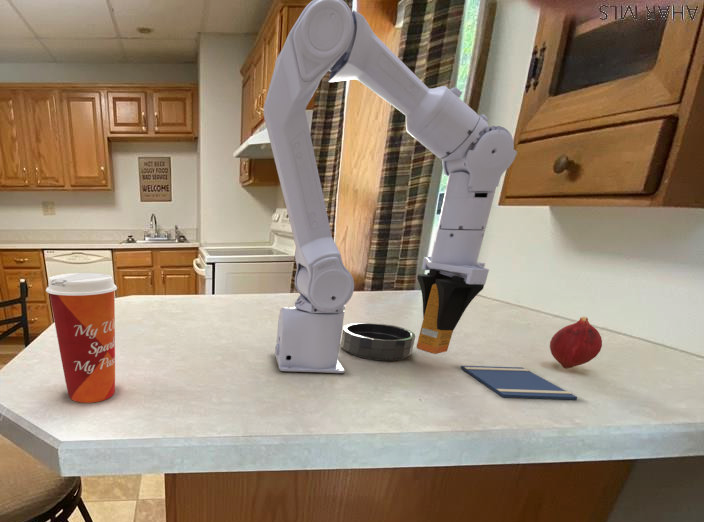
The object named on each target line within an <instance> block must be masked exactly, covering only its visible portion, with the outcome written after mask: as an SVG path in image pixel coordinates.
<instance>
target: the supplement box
mask: <svg viewBox="0 0 704 522" xmlns="http://www.w3.org/2000/svg"><path fill="white" fill-rule="evenodd" d="M438 307H439V298H438V290H437V286H436V284H433V285H432V288H431V292H430V296H429V300H428V303H427V307H426V311H425V315H424V319H422V323H421V327H420V331H419V335H418V339H417V343H416V349H418V350H420V351H422V352H425V353H429V354H433V355H436V354H440V353H441V354H442V353H445V352H448V350H449V346H450V343H451V340H452V336H453V333H454V330H438V329H437V315H438Z"/></svg>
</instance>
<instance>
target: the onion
mask: <svg viewBox="0 0 704 522" xmlns="http://www.w3.org/2000/svg"><path fill="white" fill-rule="evenodd" d="M602 347H603V340H602V336H601V334H600V331H598V330H597V329H596V328H595V326H593V325H592V324H591V322H590V321H589V318H588V317H587V316H581V317H580V318H579V320H578V321H576V322H574V323H571V324H569V325H566V326H564V327H562V328H560V329H559V330H558V331H556V332H555V333H554V335H553V336H552V337H551V339H550V341H549V350H550V354H551V356H552V357H553V359H555V361H557V362H558V363H559V364H560V365H561V367H563V368H564V369H571V368H574V367H579V366H582V365H584V364H587V363H589V362H591V361H592V360H593V359H595V358H596V357H598V355H599V354H600V352H601V350H602Z"/></svg>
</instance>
